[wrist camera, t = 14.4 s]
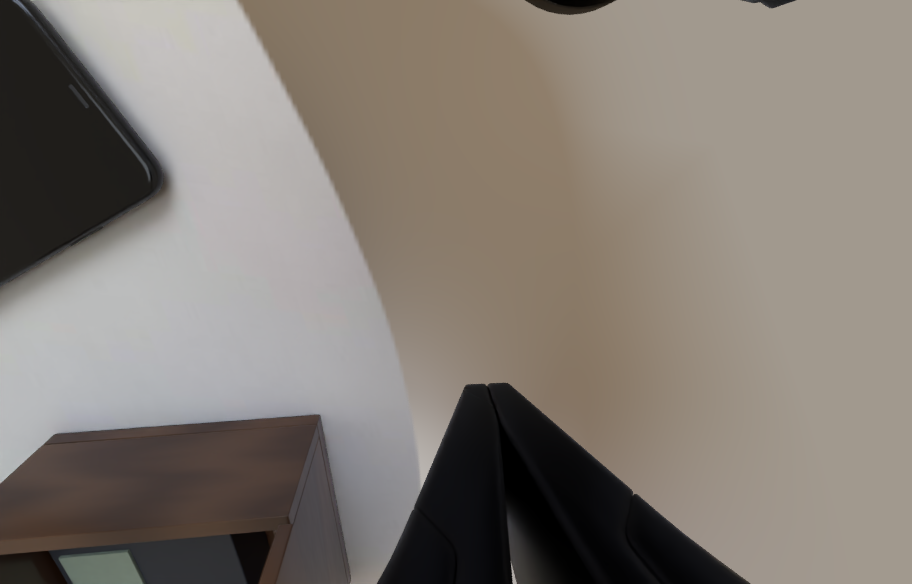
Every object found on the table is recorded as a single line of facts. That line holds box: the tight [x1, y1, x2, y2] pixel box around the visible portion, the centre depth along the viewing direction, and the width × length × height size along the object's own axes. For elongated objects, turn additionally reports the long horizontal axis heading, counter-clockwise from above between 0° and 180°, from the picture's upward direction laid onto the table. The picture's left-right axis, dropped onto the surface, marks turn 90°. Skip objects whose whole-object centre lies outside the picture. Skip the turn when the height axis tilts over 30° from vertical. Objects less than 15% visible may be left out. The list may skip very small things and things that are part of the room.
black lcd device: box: [48, 531, 270, 584], centre depth 23 cm, size 8×6×3 cm, turn 92°
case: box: [0, 415, 351, 584], centre depth 23 cm, size 14×14×6 cm
